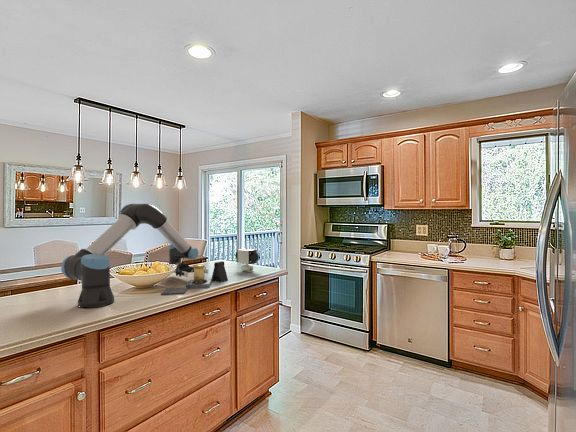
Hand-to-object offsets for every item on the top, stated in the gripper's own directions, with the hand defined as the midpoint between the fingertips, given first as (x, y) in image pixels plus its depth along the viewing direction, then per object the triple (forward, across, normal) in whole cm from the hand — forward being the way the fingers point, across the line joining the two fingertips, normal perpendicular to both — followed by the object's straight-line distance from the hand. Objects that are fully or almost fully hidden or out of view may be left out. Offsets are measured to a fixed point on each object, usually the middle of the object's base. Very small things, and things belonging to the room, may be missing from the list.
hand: (197, 273), depth 192 cm
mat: (+7, +18, -7) cm, 20 cm away
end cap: (+3, +1, -7) cm, 7 cm away
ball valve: (-10, -45, -7) cm, 47 cm away
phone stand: (+1, -15, -7) cm, 16 cm away
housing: (+3, +1, -7) cm, 7 cm away
